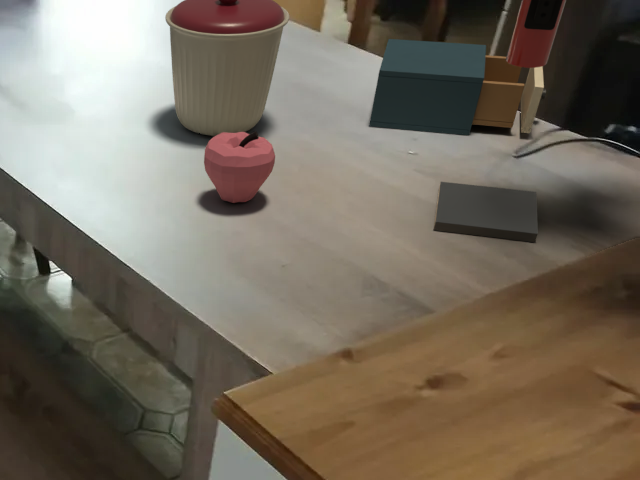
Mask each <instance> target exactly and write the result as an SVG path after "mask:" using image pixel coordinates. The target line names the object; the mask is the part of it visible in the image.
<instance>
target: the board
mask: <svg viewBox="0 0 640 480" xmlns="http://www.w3.org/2000/svg"><path fill="white" fill-rule="evenodd" d="M537 200H538V199H537V191H533V190H525V189H524V190H523V189H514V188H504V187H497V186H496V187H495V186H486V185H477V184H466V183H458V182H449V181H440V182H439V186H438V191H437V199H436V206H435V214H434V222H433V231H437V232H438V231H439V232H446V233H456V234H462V235H469V236H470V235H472V236H477V237H478V236H479V237H488V238H494V239H495V238H497V239H503V240H510V241H511V240H513V241H522V242H529V243H536V242H537V239H538V235H539V229H538V228H539V224H538V204H537V203H538V201H537Z"/></svg>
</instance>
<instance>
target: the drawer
mask: <svg viewBox="0 0 640 480" xmlns="http://www.w3.org/2000/svg"><path fill="white" fill-rule="evenodd" d="M522 68H523V67H518V66H514V65H511V64H509V63H508V62H507V61H506V56H501V55H488V54H486V57H485V73H484V81H483V84H482V88H481V92H480V96H479V100H478V103H477V107H476V111H475V115H474V119H473V122H472V125H474V126H475V125H476V126H488V127H496V128H497V127H498V128H508V129H509V128H511V129H512V128H513V127H514V123H515V120H516V116H517V112H518V109H519V107H520V133H521V134H530V133H531V131H532V128H533V126H534V121H535V118H536V115H537V111H538V109H539V106H540V102H541V101H544V100H545V98H546V94H547V88H545V85H544V84H545V82H544V81H545V80H544V66H542V67H536V68H529V70H528V74H527V77H526V79H525V83H521V82H519V78H520V75H521V72H522ZM519 105H520V106H519Z"/></svg>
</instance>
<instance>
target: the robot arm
mask: <svg viewBox="0 0 640 480" xmlns="http://www.w3.org/2000/svg"><path fill="white" fill-rule="evenodd" d="M562 1H563V0H531V2H530V5H529V9H528V12H527V16H526V20H525V23H524V27H525V28H526V29H540V30H552V29H554V27H555V24H556V21H557V18H558V14H559V11H560V8H561V5H562Z"/></svg>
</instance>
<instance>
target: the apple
mask: <svg viewBox="0 0 640 480" xmlns="http://www.w3.org/2000/svg"><path fill="white" fill-rule="evenodd" d="M275 164H276V154H275V150H274V147H273V144H272V143H271V142H269V140H268V139H266V137H263V136H260V135H259V133H258V131H256V130H254V131H253V132H251V133H248V132H238V133H225V132H222V133H220V134H218V135H216V136H212V138H211V139H210V140H208V142H207V144H206V146H205V148H204V156H203V165H204V171H205V172H206V175H207V176H208V178H209V180H210V181H211V183H212V185H213V186H214V189H215V190H216V192H217V193H218V195H219V197H220V199H221V201H224V202H228V203H231V204H236V203H246V202H249V201H250V200H252V199H253V198H254V197H255V196H256V194H258V192H259V190H260V188H261V187H262V186H263V184H264V183H265V182H266V181H267V179H268V178H269V177H270V175H271V173H272V172H273V170H274V166H275Z"/></svg>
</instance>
